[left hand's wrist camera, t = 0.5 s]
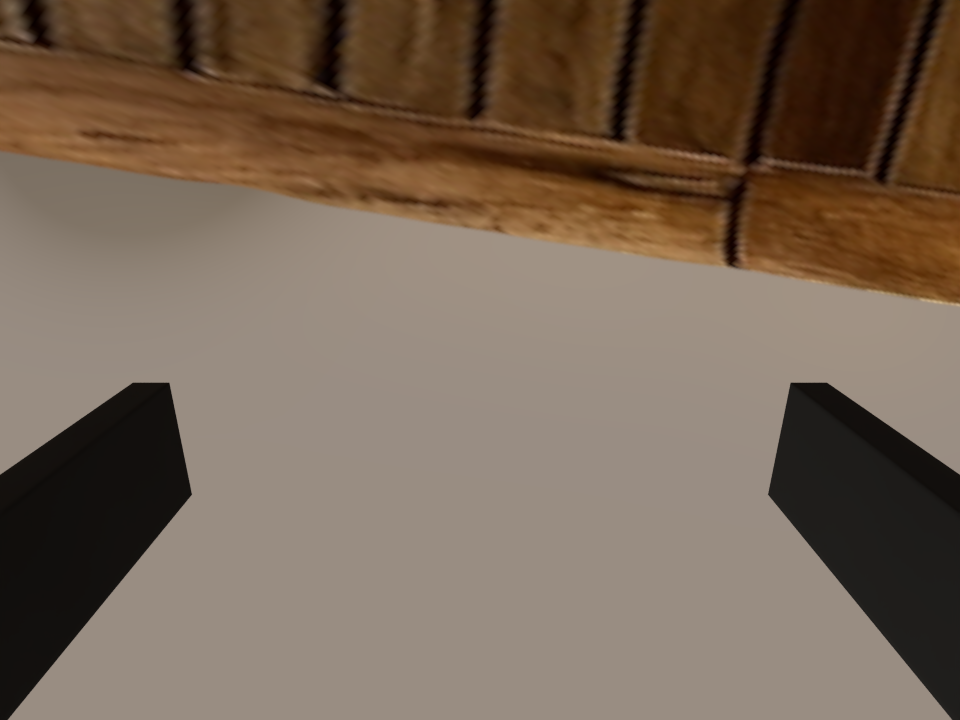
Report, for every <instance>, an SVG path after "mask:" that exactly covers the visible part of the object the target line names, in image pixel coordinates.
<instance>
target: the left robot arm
mask: <svg viewBox="0 0 960 720" xmlns="http://www.w3.org/2000/svg"><path fill="white" fill-rule="evenodd" d="M191 495H192V493H191V488H190V483H189V478H188V473H187V468H186V463H185V458H184V453H183V448H182V444H181V438H180V434H179V429H178V424H177V419H176V414H175V409H174V404H173V399H172V394H171V389H170V384H169V383H132V384H131V385H129V386H128V387H126V388H125V389H123V390H122V391H120V392H119V393H118V394H116V395H115V396H113V397H112V398H110V399H109V400H107V401H106V402H105V403H103V404H102V405H100V406H99V407H97V408H96V409H94V410H93V411H92V412H90V413H89V414H87V415H86V416H84V417H83V418H81V419H80V420H79V421H77V422H76V423H74V424H73V425H72V426H70V427H69V428H67V429H66V430H64V431H63V432H61V433H60V434H58V435H57V436H56V437H54V438H53V439H51V440H50V441H48V442H47V443H45V444H44V445H43V446H41V447H40V448H38V449H37V450H35V451H34V452H32V453H31V454H30V455H28V456H27V457H25V458H24V459H22V460H21V461H20V462H18V463H17V464H15V465H14V466H12V467H11V468H9V469H8V470H6V471H5V472H4V473H2V474H1V475H0V720H8V719H9V717H10V716H11V715H12V714H13V713H14V711H15V710H16V709H17V708H18V706H19V705H20V704H21V703H22V701H23V700H24V699H25V698H26V697H27V695H28V694H29V693H30V692H31V691H32V689H33V688H34V687H35V686H36V684H37V683H38V682H39V681H40V679H41V678H42V677H43V676H44V675H45V673H46V672H47V671H48V670H49V668H50V667H51V666H52V665H53V664H54V662H55V661H56V660H57V659H58V657H59V656H60V655H61V654H62V653H63V651H64V650H65V649H66V648H67V646H68V645H69V644H70V643H71V642H72V640H73V639H74V638H75V637H76V635H77V634H78V633H79V632H80V631H81V629H82V628H83V627H84V626H85V625H86V623H87V622H88V621H89V620H90V618H91V617H92V616H93V615H94V614H95V612H96V611H97V610H98V609H99V607H100V606H101V605H102V604H103V603H104V601H105V600H106V599H107V598H108V596H109V595H110V594H111V593H112V592H113V590H114V589H115V588H116V587H117V585H118V584H119V583H120V582H121V581H122V579H123V578H124V577H125V576H126V574H127V573H128V572H129V571H130V569H131V568H132V567H133V566H134V565H135V563H136V562H137V561H138V560H139V559H140V557H141V556H142V555H143V554H144V552H145V551H146V550H147V549H148V548H149V546H150V545H151V544H152V543H153V541H154V540H155V539H156V538H157V537H158V535H159V534H160V533H161V532H162V530H163V529H164V528H165V527H166V526H167V524H168V523H169V522H170V521H171V519H172V518H173V517H174V516H175V515H176V513H177V512H178V511H179V510H180V508H181V507H182V506H183V505H184V504H185V502H186V501H187V500H188V499H189V497H190V496H191ZM768 495H769V496H770V497H771V499H772V500H773V501H774V502H775V504H776V505H777V506H778V507H779V508H780V510H781V511H782V512H783V513H784V515H785V516H786V517H787V518H788V519H789V521H790V522H791V523H792V524H793V526H794V527H795V528H796V529H797V530H798V532H799V533H800V534H801V535H802V537H803V538H804V539H805V540H806V541H807V543H808V544H809V545H810V546H811V548H812V549H813V550H814V551H815V552H816V554H817V555H818V556H819V557H820V559H821V560H822V561H823V562H824V563H825V565H826V566H827V567H828V568H829V570H830V571H831V572H832V573H833V574H834V576H835V577H836V578H837V579H838V580H839V582H840V583H841V584H842V585H843V587H844V588H845V589H846V590H847V591H848V593H849V594H850V595H851V596H852V598H853V599H854V600H855V601H856V602H857V604H858V605H859V606H860V607H861V609H862V610H863V611H864V612H865V614H866V615H867V616H868V617H869V618H870V620H871V621H872V622H873V623H874V624H875V626H876V627H877V628H878V629H879V631H880V632H881V633H882V634H883V636H884V637H885V638H886V639H887V640H888V642H889V643H890V644H891V645H892V646H893V648H894V649H895V650H896V651H897V653H898V654H899V655H900V656H901V658H902V659H903V660H904V661H905V662H906V664H907V665H908V666H909V667H910V668H911V670H912V671H913V672H914V673H915V675H916V676H917V677H918V678H919V679H920V681H921V682H922V683H923V684H924V686H925V687H926V688H927V689H928V690H929V692H930V693H931V694H932V695H933V697H934V698H935V699H936V700H937V702H938V703H939V704H940V705H941V706H942V708H943V709H944V710H945V711H946V713H947V714H948V715H949V716H950V717H951V719H952V720H960V475H959V474H958V473H956V472H955V471H954V470H952V469H951V468H949V467H948V466H946V465H945V464H943V463H942V462H941V461H939V460H938V459H936V458H935V457H933V456H932V455H930V454H929V453H928V452H926V451H925V450H923V449H922V448H920V447H919V446H917V445H916V444H915V443H913V442H912V441H910V440H909V439H907V438H906V437H904V436H903V435H902V434H900V433H899V432H897V431H896V430H894V429H893V428H891V427H890V426H889V425H887V424H886V423H884V422H883V421H881V420H880V419H879V418H877V417H876V416H874V415H873V414H871V413H870V412H868V411H867V410H866V409H864V408H863V407H861V406H860V405H858V404H857V403H855V402H854V401H852V400H851V399H850V398H848V397H847V396H845V395H844V394H842V393H841V392H840V391H838V390H837V389H835V388H834V387H832V386H831V385H829V384H828V383H791V384H790V389H789V394H788V399H787V404H786V409H785V414H784V419H783V424H782V428H781V434H780V438H779V443H778V448H777V453H776V458H775V463H774V468H773V473H772V478H771V483H770V488H769V493H768Z"/></svg>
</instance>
